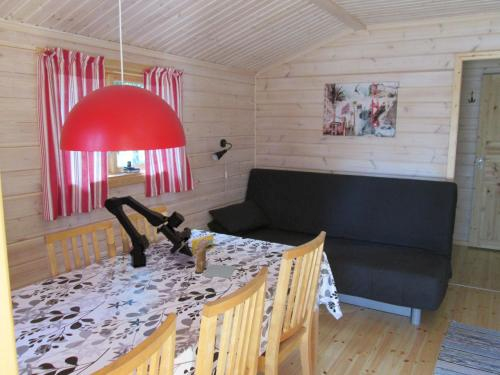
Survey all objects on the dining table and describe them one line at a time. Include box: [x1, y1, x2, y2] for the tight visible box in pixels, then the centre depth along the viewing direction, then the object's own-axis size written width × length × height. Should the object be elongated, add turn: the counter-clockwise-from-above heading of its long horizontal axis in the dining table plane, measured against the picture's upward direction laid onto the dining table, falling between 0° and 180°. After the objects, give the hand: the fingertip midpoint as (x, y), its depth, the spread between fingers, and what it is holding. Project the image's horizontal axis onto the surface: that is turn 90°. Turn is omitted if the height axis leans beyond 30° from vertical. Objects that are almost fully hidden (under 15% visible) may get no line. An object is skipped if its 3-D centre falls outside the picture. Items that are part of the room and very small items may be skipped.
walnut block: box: [196, 249, 207, 273], centre depth 216 cm, size 3×7×10 cm, turn 172°
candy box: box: [191, 234, 214, 255], centre depth 248 cm, size 16×2×8 cm, turn 143°
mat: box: [201, 264, 237, 278], centre depth 216 cm, size 14×16×1 cm
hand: (192, 256), depth 217 cm, fingers closed
